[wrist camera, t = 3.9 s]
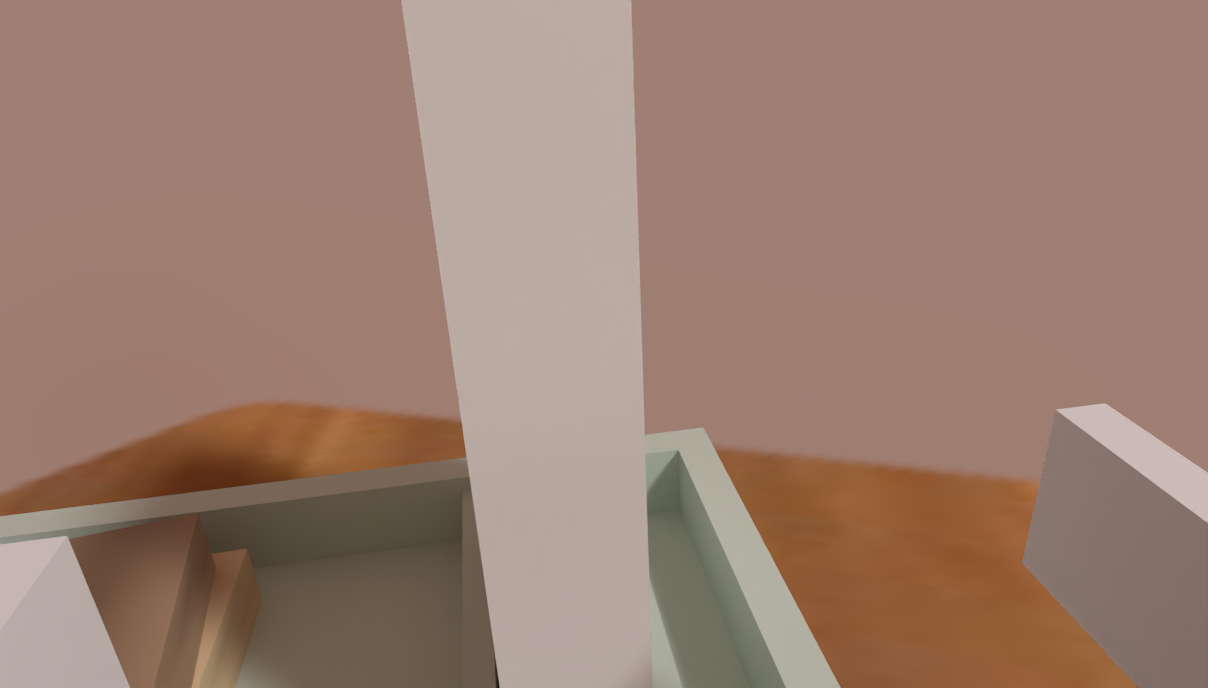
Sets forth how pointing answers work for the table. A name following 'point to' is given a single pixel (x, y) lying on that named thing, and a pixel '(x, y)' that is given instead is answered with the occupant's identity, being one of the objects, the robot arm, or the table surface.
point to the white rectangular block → (544, 320)
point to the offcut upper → (151, 596)
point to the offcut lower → (227, 621)
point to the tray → (470, 576)
